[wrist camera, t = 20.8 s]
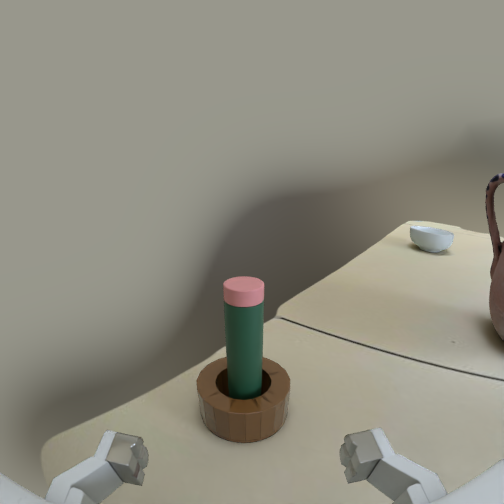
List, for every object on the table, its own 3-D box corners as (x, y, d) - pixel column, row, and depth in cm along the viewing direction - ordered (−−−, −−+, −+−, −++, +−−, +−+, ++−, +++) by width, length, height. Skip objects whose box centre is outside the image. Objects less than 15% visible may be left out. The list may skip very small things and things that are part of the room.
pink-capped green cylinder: (238, 424, 20) (234, 294, 17) (224, 404, 23) (216, 280, 20) (266, 413, 22) (272, 285, 19) (251, 395, 24) (251, 273, 21)
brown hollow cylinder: (224, 455, 17) (220, 427, 16) (189, 397, 24) (184, 367, 23) (303, 420, 21) (309, 390, 20) (258, 376, 28) (259, 346, 27)
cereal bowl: (459, 257, 72) (462, 236, 70) (420, 255, 74) (423, 233, 72) (437, 245, 88) (439, 227, 86) (401, 243, 90) (403, 224, 89)
